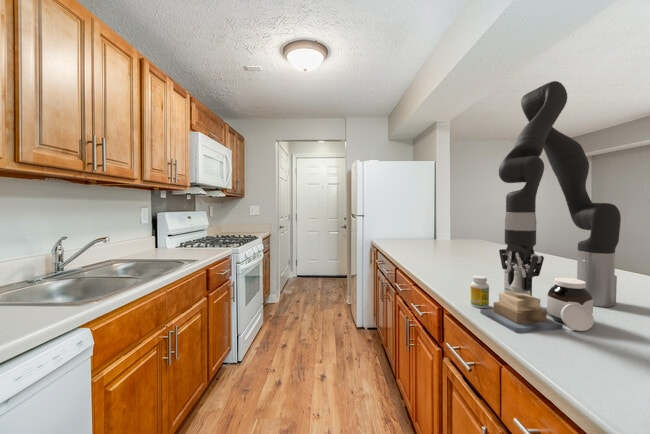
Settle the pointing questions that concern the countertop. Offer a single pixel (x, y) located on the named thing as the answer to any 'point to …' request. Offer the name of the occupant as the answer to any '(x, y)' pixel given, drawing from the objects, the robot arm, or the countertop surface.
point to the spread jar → (571, 304)
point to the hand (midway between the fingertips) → (519, 287)
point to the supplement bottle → (479, 292)
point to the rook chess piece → (517, 280)
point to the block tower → (520, 313)
